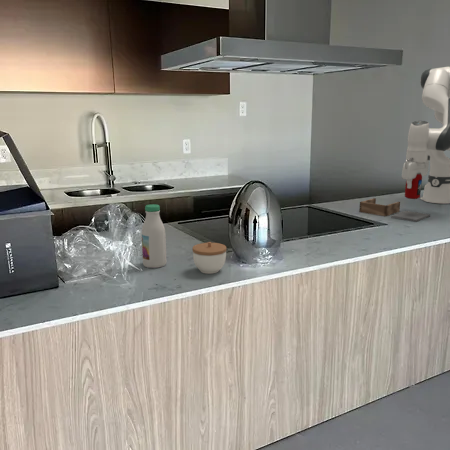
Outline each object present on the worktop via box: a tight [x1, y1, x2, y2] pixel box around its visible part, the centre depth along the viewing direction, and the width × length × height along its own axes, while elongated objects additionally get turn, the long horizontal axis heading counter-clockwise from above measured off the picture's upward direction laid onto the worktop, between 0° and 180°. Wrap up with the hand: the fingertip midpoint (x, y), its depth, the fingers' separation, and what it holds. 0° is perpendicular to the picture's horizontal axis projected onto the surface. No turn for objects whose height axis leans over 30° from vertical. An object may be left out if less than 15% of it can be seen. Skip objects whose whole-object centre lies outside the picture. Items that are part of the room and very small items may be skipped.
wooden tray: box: [358, 197, 401, 217], centre depth 230 cm, size 14×14×5 cm
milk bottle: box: [141, 204, 167, 269], centre depth 151 cm, size 8×8×20 cm
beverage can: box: [404, 173, 423, 200], centre depth 215 cm, size 7×7×12 cm
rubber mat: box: [390, 210, 431, 223], centre depth 219 cm, size 15×12×1 cm
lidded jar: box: [191, 241, 227, 275], centre depth 147 cm, size 11×11×9 cm
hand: (413, 187), depth 216 cm, fingers closed on beverage can, 7 cm apart
